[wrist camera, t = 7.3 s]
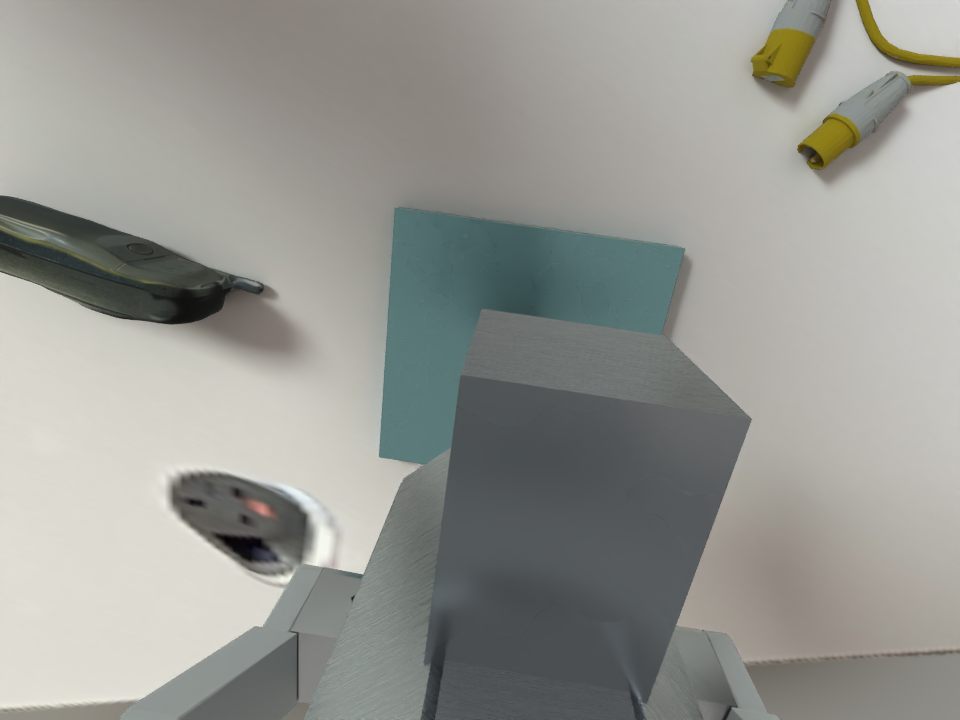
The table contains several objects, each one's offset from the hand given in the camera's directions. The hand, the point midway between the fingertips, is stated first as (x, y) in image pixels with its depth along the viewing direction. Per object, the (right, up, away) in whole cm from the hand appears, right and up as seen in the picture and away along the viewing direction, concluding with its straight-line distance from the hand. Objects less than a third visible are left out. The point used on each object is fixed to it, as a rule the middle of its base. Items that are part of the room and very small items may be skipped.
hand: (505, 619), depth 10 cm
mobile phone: (-20, +11, +16) cm, 28 cm away
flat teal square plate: (+1, +6, +16) cm, 17 cm away
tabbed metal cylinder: (0, +3, +2) cm, 3 cm away
